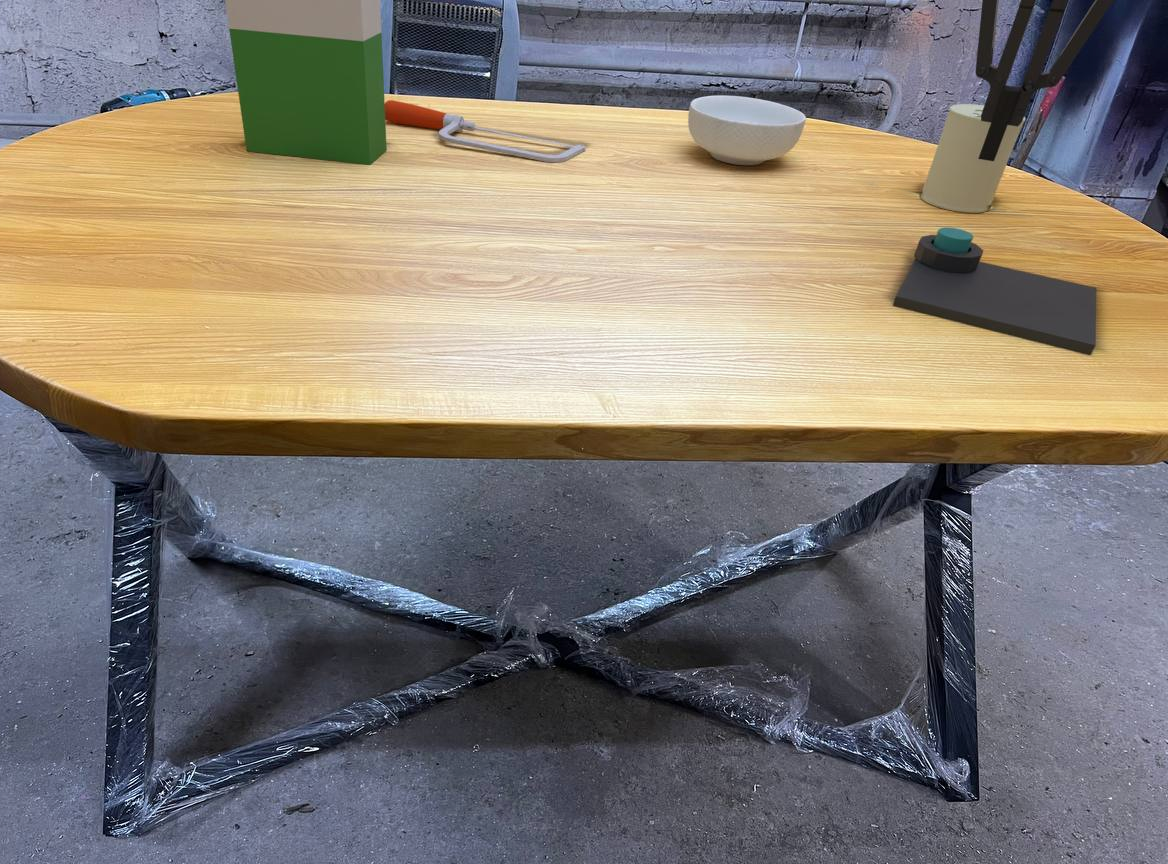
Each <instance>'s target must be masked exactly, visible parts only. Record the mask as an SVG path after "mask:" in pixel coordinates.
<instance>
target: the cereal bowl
mask: <svg viewBox="0 0 1168 864" xmlns="http://www.w3.org/2000/svg"><path fill="white" fill-rule="evenodd" d="M687 116H688V117H687V120H688V121H687V127H688V131H689V134H690V136H691V137H692V138H693V141H694V142H695V143H696V144H697V145H698V146H700V147H701V149H703V150H705V151H707V152H709V154H710V156H711V157H712V158H714V159H715V160H716V161H719V162H722V163H726V164H731V165H737V166H756V165H757V166H758V165H761V164H763V163H764V162H765V161H768V160H769V161H770V160H774V159H777V158H780V157H783V156H784V155H786V154H787V153H789V152H790V151H792V149H794V148H795V146H796V145H797V144H798V142H799V141H800V138H801V136H802V135H803V134H802V133H803V131H804V127H805V125H806V121H807V117H806V115H805V114H804V113H803V112H801V111H800V110H798V109H795V108H794V107H790V106H788V105H785V104H781V103H778V102H774V101H770V100H765V99H760V98H756V97H755V98H754V97H748V96H741V95H738V96H737V95H708V96H702V97H700V96H699V97H697V98H695V99H693V100H692V101H690V104H689V107H688V115H687Z"/></svg>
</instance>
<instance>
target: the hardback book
mask: <svg viewBox="0 0 1168 864" xmlns="http://www.w3.org/2000/svg"><path fill="white" fill-rule="evenodd" d="M224 3H225V10H226V16H227V23H228V31H229V37H230V44H231V52H232V58H233V59H232V60H233V67H234V73H235V79H236V87H237V94H238V100H239V107H240V114H241V121H242V128H243V136H244V142H245V149H246V152H252V153H260V154H267V155H268V154H269V155H278V156H288V157H297V158H304V159H315V160H322V161H333V162H341V163H349V164H350V163H351V164H359V165H369V166H371V165H372V164H373V163H374V162H375V161H376V160H378V159H379V158H380V157H381V156H383V154H384V153H385V152H387V151H388V149H387V125H386V119H385V103H386V100H385V81H384V80H385V79H384V59H383V57H384V56H383V36H382V35H383V34H382V16H381V15H382V13H381V12H382V11H381V0H224Z"/></svg>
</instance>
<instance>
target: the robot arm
mask: <svg viewBox="0 0 1168 864" xmlns="http://www.w3.org/2000/svg"><path fill="white" fill-rule="evenodd" d="M1115 1H1116V0H1095V1H1094V2H1093V3H1092V5H1091V6H1090V7H1089V9H1088V11H1087V12H1086V14H1085V16H1084V17H1083V18H1082V20H1081V21H1080V23H1079V24H1078V26H1077V28H1076V29H1075V31H1074V33H1073V34H1072V35H1071V37H1070V39H1069V40H1068V42H1067V43H1066V45H1065V46H1064V48H1063V50H1062V51H1061V53H1060V54H1059V55H1058V57H1057V58H1056V60H1055V62H1054V63H1053V65H1052V66H1051V68H1050V69H1049V71H1044V72H1042V71H1043V68H1044V65H1045V63H1046V60H1047V58H1048V55H1049V52H1050V49H1051V47H1052V45H1053V41H1054V39H1055V37H1056V35H1057V31H1058V29H1059V26H1060V24H1061V20H1062V18H1063V16H1064V13H1065V11H1066V8H1067V5H1068V2H1069V0H1052V2H1051V4H1050V7H1049V9H1048V13H1047V16H1046V18H1045V21H1044V24H1043V26H1042V30H1041V32H1040V35H1039V37H1038V40H1037V43H1036V45H1035V47H1034V51H1033V54H1032V56H1031V59H1030V61H1029V63H1028V67H1027V70H1026V72H1025V75H1024V78H1023V81H1022V83H1021V86H1014V85H1013V86H1012V85H1007V83H1008V81H1009V78H1010V75H1011V72H1012V70H1013V67H1014V65H1015V61H1016V58H1017V56H1018V53H1019V50H1020V48H1021V44H1022V42H1023V39H1024V36H1025V34H1026V31H1027V29H1028V25H1029V23H1030V20H1031V17H1032V14H1033V13H1034V9H1035V6H1036V4H1037V2H1038V0H1020V2H1019V5H1018V8H1017V11H1016V14H1015V17H1014V19H1013V23H1012V25H1011V29H1010V31H1009V34H1008V36H1007V39H1006V42H1005V45H1004V47H1003V51H1002V54H1001V57H1000V60H999V62H998V65H997V66H996V65H994V64H993V61H994V60H993V59H994V49H995V39H996V30H997V21H998V13H999V12H998V11H999V4H1000V0H982V1H981V10H980V11H981V12H980V21H979V22H980V23H979V30H978V31H979V32H978V41H977V53H976V62H975V75H976V77H977V78H979V79H982V80H984V81H985V82H987V83H988V84H989V90H988V93H987V96H986V100H985V102H984V108H983V111H982V114H981V121H984V122H991V125H990V127H989V130H988V133H987V136H986V139H985V141H984V144H983V147H982V150H981V152H980V155H979V158H978V159H982V160H988V161H994V160H995V157H996V155H997V152H998V150H999V147H1000V144H1001V142H1002V139H1003V136H1004V133H1005V131H1006V128H1007V125H1011V126H1017V127H1018V126H1019V125H1020V124H1021V122H1022V121H1023V118H1024V117H1025V116H1026V112H1027V110H1028V108H1029V106H1030V102H1031V100H1032V97H1033V95H1034V93H1036V92H1037V91H1039V90H1041V89H1046V88H1054V87H1056V86H1057V85H1059V84H1060V82H1061V80H1062V79H1063V77H1064V76H1065V74H1066V73H1067V71H1068V69H1069V68H1070V67H1071V65H1072V64H1073V62H1074V60H1075V59H1076V58H1077V56H1078V55H1079V53H1080V51H1082V48H1083V47H1084V45H1085V44H1086V43H1087V41H1088V40H1089V38H1090V36H1091V35H1092V33H1093V32H1094V31H1095V29H1096V27H1097V26H1098V24H1099V23H1100V21H1101V20H1102V19H1103V17H1104V15H1106V12H1107V11H1108V9H1109V8H1110V6H1111V5H1112V4H1113V3H1114V2H1115Z"/></svg>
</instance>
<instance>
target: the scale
mask: <svg viewBox="0 0 1168 864" xmlns="http://www.w3.org/2000/svg"><path fill="white" fill-rule="evenodd" d="M936 235H937V234H929V235H924V236H921V237H920V239H919V241H918V243H917V246H916V249H915V252H914V255H913V257H914V261H913V262H912V264H911V266H910V268H909V270H908V272H907V273H906V275H905V278H904V279H903V281H902V284H901V286H900V287H899V289H898V291H897V293H896V295H895V298H894V301H893V303H892V306H893V307H896V308H899V309H904V310H908V311H911V312H915V313H919V314H924V315H928V316H931V317H934V318H935V317H936V318H940V319H942V320H943V319H944V320H946V321H947V320H948V321H952V322H956V323H960V324H963V325H968V326H972V327H976V328H979V329H983V330H988V331H992V332H995V333H999V334H1003V335H1007V336H1011V337H1015V338H1019V339H1023V340H1027V341H1031V342H1036V343H1039V344H1043V345H1046V346H1050V347H1055V348H1058V349H1064V350H1066V351H1071V352H1074V353H1077V354H1078V353H1079V354H1083V355H1086V356H1091V355H1092V353H1093V351H1095V348H1096V345H1097V287H1094V286H1090V285H1085V284H1082V283H1081V284H1080V283H1077V282H1072V281H1067V280H1064V279H1059V278H1055V277H1050V276H1045V275H1041V274H1036V273H1033V272H1032V273H1031V272H1028V271H1023V270H1019V269H1014V268H1010V267H1007V266H1006V267H1005V266H1001V265H996V264H993V263H989V262H988V263H987V262H982V261H981V259H982V256H983V253H984V249H983V248H981V247H980V246H979V245H978V244H976V243H975V242H973V241H972V242H971V245H970V247H969V250H968V252H967V253H953V252H949V251H945V250H941V249H939V248H936V247H935V246H934V245H933V243H934V240H935V238H936Z"/></svg>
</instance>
